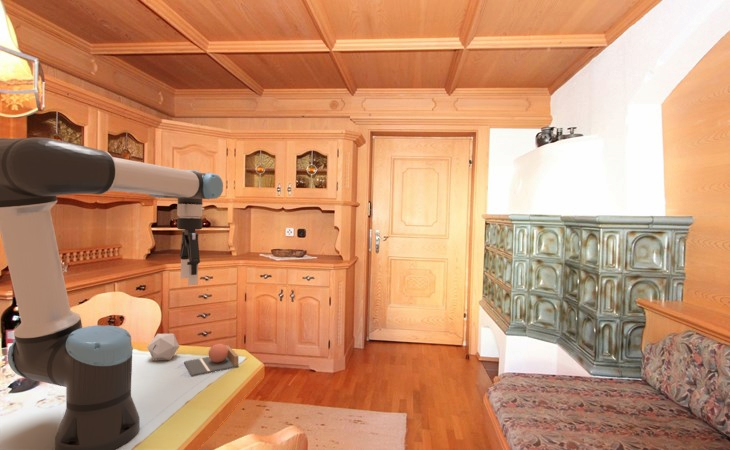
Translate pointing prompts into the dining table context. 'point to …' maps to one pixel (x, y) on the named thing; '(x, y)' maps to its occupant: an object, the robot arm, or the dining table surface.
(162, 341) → the die
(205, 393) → the dining table surface
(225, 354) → the ball
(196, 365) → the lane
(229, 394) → the dining table surface
